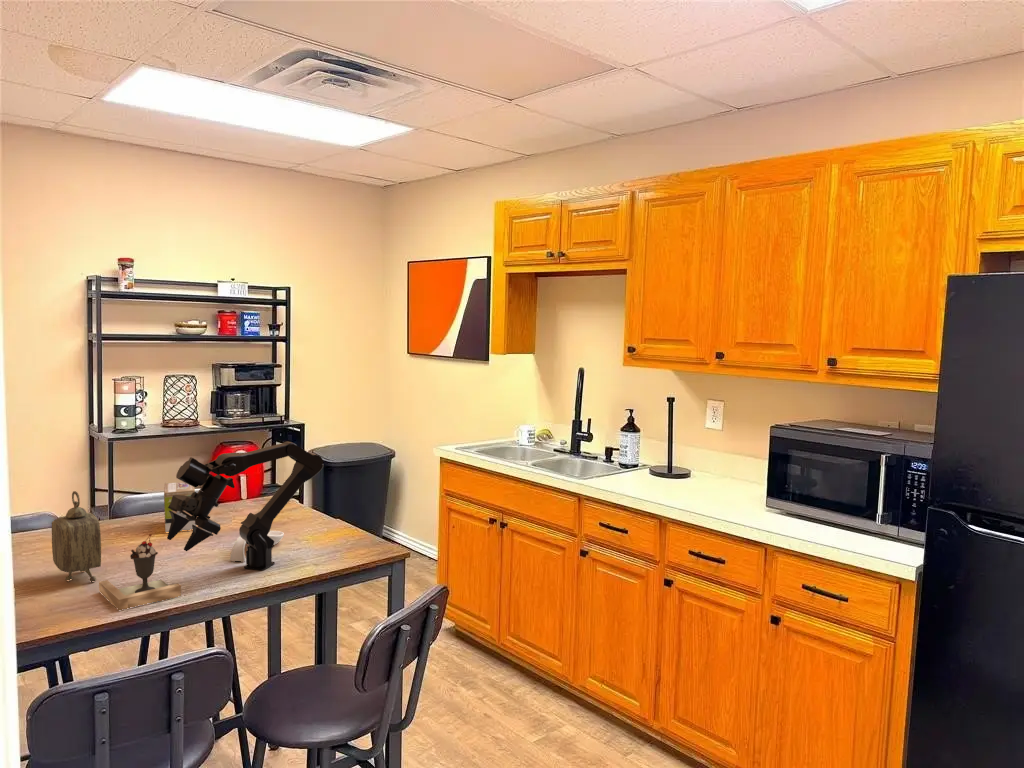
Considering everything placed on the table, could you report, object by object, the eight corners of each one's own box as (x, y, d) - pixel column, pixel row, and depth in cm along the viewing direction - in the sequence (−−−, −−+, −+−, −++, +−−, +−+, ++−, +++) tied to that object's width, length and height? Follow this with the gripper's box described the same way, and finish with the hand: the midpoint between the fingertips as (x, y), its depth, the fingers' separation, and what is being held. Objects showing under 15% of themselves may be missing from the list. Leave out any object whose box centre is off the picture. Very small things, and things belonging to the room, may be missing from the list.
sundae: (162, 585, 198) (161, 532, 196) (153, 595, 191) (152, 539, 189) (137, 586, 197) (135, 532, 195) (127, 596, 190) (125, 540, 189)
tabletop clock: (102, 582, 201) (99, 494, 198) (64, 590, 194) (61, 499, 192) (88, 569, 211) (85, 485, 209) (52, 576, 205) (49, 489, 203)
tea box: (165, 522, 261) (164, 482, 259) (195, 520, 265) (194, 480, 264) (164, 534, 247) (163, 491, 246) (196, 531, 251) (195, 489, 250)
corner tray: (158, 579, 204) (158, 569, 204) (181, 596, 192) (180, 585, 192) (99, 592, 193) (98, 581, 193) (119, 611, 181) (118, 599, 181)
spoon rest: (256, 539, 244) (256, 518, 243) (290, 541, 242) (289, 520, 242) (219, 561, 220) (219, 538, 220) (255, 564, 219) (255, 540, 218)
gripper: (169, 474, 205) (136, 524, 200) (204, 493, 193) (170, 546, 189) (200, 489, 213) (169, 537, 208) (234, 508, 202) (202, 560, 197)
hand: (176, 544), depth 200 cm, fingers open, 9 cm apart
